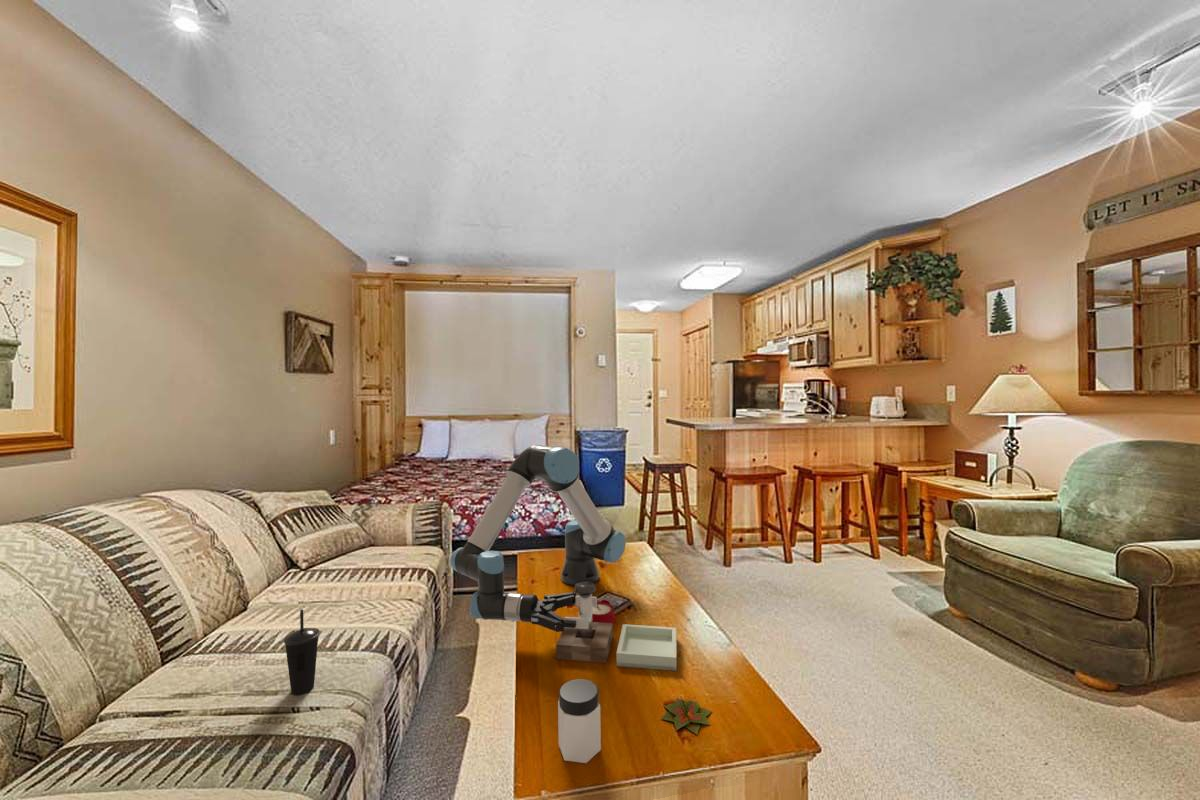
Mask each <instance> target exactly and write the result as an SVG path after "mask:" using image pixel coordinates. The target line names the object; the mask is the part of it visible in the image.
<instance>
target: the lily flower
mask: <svg viewBox="0 0 1200 800" xmlns="http://www.w3.org/2000/svg"><path fill="white" fill-rule="evenodd" d="M683 696H684V697H681V695H679V697H676V698H675V700H674V703H673V702H672V703H669V704H667V705H663V707H664V708H665V709H667V710H668V711H666V712H665V713H664V714H663V715H662V717H660V718H659V719H660V720H665V721H670V722H672V723H674V726H675V732H677V731H679V729H681V728H683V727H685V728H686V729H687V730H689V731H691V732H692V733H694V734H696V736H698V734H699V730H700V726H701V725H700V724H704V725H708V726H711V723H710V722H709V720H708V718H707V717H708V715H710V714H711V713H713V710H709V709H707V708H705V707H700V705H699V703H698V701H695V700H694V699H696V696H695V697H693V698H692V699H690V698H689V697H690V695H688V698H687V699H688V700H687V701H686V700H685V698H686V697H685V695H683ZM693 700H694V701H693ZM682 714H684V717H688V715H689V714H690V715H691V717H692V718H687V719H684V717H683V716H682ZM691 722H692V723H693V725H692V726H691V725H690V723H691Z"/></svg>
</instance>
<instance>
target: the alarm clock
mask: <svg viewBox="0 0 1200 800" xmlns="http://www.w3.org/2000/svg"><path fill="white" fill-rule="evenodd" d="M614 609H615V608H614V607H613V605H612V604H611V602H610V601H609V600H608V599H601V600H600V601H598V600H597V607H592V622H599V623H613V624H615V622H616V620H615V619H616V616H615V612H614V611H615V610H614Z"/></svg>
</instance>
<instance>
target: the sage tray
mask: <svg viewBox="0 0 1200 800" xmlns="http://www.w3.org/2000/svg"><path fill="white" fill-rule="evenodd" d="M615 657H616V667H625V668H628V667H629V668H639V669H647V670H648V669H649V670H660V671H661V670H662V671H674V672H675V671H676V672H677V669H678V668H677V667H678V666H677V664H678V663H677V627H671V626H669V627H668V626H655V625H641V624H640V625H638V624H627V623H626V624H625V623H623V624H622V627H621V631H620V636H619V640H618V645H617V649H616V656H615Z"/></svg>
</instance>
